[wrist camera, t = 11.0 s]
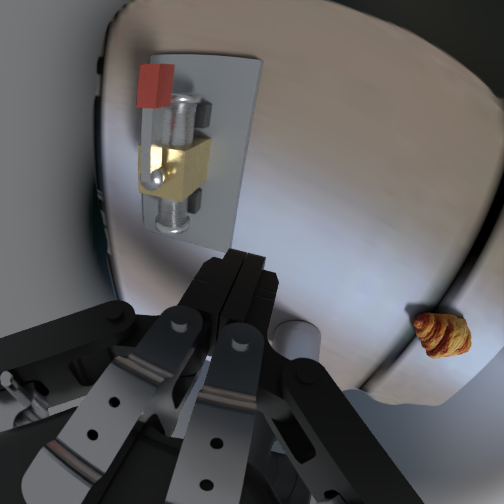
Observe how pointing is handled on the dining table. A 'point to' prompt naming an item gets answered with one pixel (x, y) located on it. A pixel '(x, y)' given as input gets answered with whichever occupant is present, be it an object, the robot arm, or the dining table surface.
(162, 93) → the lever
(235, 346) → the robot arm
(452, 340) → the croissant
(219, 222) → the slate board
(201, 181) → the valve pipe
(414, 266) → the dining table surface
